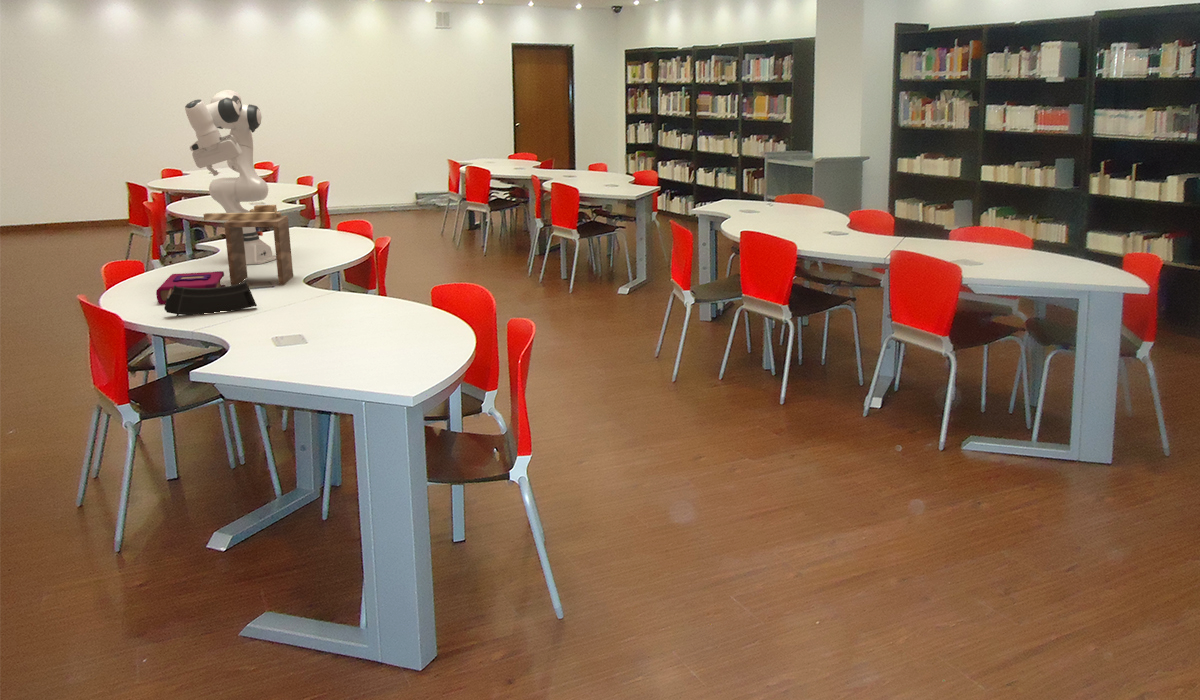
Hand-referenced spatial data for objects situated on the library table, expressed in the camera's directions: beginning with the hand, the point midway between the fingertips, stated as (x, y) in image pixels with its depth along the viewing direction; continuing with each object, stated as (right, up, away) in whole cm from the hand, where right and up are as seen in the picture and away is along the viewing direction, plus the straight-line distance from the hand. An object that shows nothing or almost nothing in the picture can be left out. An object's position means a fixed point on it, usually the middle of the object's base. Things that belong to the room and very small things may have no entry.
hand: (226, 172), depth 398 cm
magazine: (+15, -60, -52) cm, 81 cm away
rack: (+14, -45, +5) cm, 47 cm away
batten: (+7, -20, -3) cm, 21 cm away
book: (-4, -53, -22) cm, 58 cm away
